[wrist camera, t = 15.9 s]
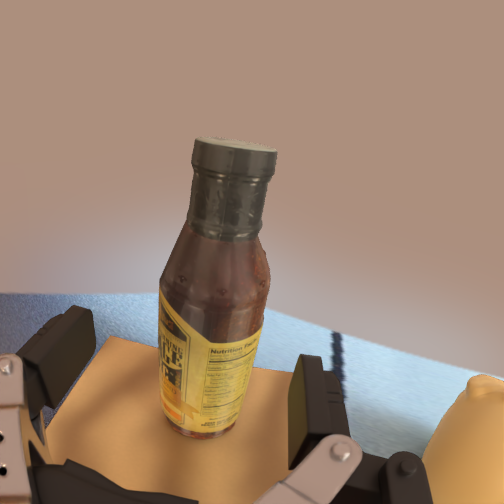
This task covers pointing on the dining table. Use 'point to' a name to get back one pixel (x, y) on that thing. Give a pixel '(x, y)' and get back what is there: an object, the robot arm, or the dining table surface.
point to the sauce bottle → (215, 289)
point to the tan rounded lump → (469, 447)
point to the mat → (169, 432)
